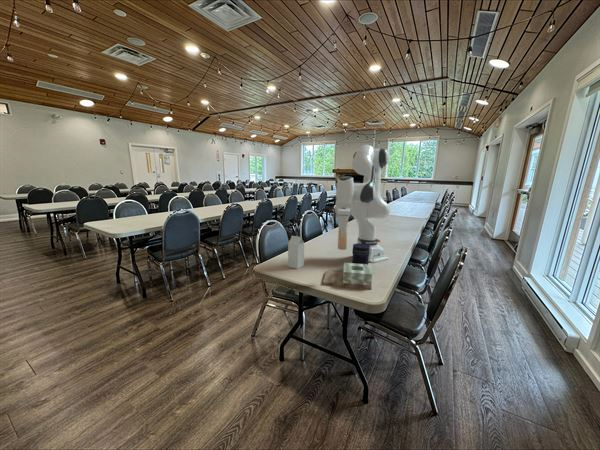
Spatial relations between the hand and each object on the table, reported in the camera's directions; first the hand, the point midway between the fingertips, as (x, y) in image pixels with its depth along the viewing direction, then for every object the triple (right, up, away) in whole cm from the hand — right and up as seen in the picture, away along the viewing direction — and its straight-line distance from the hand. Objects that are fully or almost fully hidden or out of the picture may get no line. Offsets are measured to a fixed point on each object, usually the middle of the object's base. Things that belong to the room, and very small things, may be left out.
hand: (342, 235), depth 129 cm
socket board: (+3, -24, +4) cm, 25 cm away
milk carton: (-25, -20, +24) cm, 40 cm away
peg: (0, -7, +1) cm, 7 cm away
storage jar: (+14, -22, +20) cm, 32 cm away
